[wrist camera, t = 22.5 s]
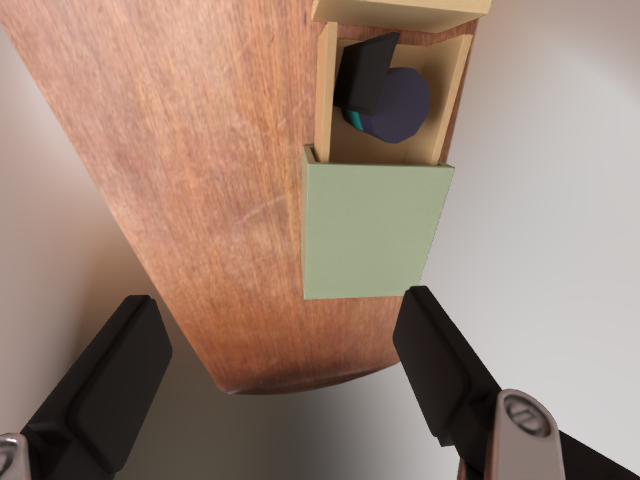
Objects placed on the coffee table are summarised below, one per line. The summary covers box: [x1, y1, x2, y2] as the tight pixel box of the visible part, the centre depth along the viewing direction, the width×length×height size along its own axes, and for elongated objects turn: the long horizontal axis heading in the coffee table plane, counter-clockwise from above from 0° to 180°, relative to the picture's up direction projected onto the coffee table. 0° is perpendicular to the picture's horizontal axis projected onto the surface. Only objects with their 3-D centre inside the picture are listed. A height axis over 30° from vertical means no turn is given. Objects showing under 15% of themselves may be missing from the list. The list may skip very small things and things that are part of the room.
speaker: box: [333, 32, 431, 144], centre depth 24 cm, size 8×6×10 cm
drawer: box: [312, 0, 492, 165], centre depth 25 cm, size 21×13×8 cm, turn 177°
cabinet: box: [301, 145, 455, 299], centre depth 33 cm, size 17×15×10 cm
